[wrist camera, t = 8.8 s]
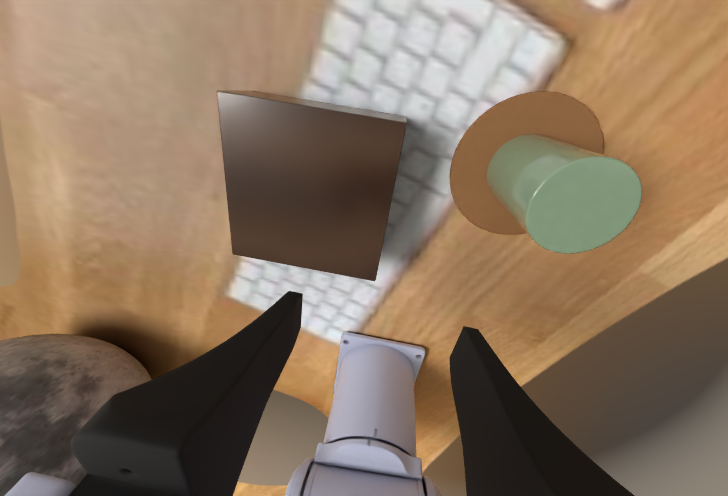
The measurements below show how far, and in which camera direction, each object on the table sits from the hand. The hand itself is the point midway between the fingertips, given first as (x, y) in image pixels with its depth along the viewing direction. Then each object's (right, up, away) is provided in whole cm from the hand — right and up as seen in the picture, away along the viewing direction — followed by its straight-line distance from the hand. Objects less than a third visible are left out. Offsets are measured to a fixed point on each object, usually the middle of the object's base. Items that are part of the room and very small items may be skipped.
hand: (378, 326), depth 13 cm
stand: (-4, +8, +8) cm, 12 cm away
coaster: (+10, +9, +6) cm, 14 cm away
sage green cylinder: (+10, +8, +6) cm, 14 cm away
